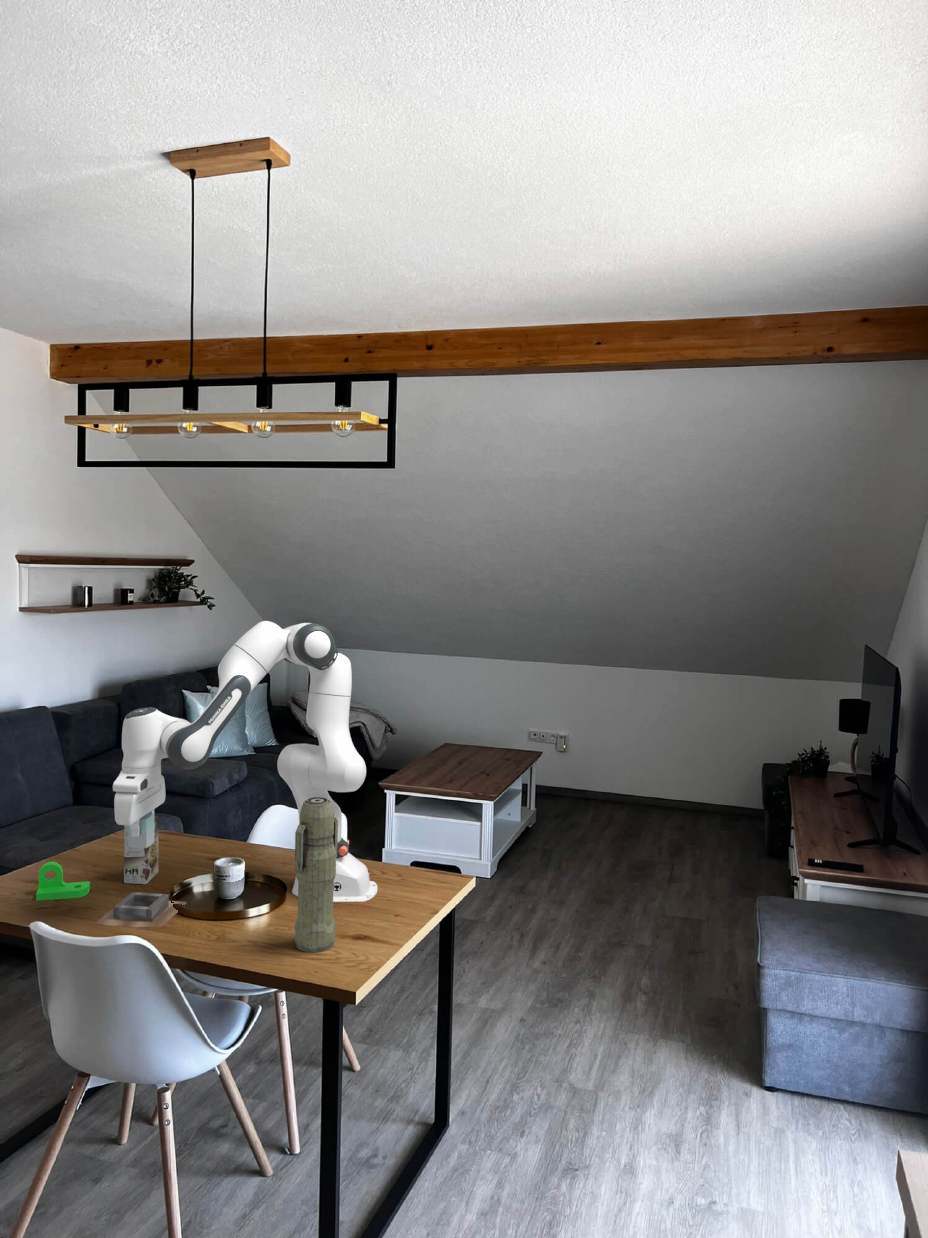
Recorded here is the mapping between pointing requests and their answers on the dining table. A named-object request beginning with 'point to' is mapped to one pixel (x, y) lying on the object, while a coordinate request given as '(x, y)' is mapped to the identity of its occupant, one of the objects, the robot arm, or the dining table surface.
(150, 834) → the pale teal block
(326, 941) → the thermos
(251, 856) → the dining table surface
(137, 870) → the coffee box
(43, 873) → the mechanical part
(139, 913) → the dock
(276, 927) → the dining table surface
